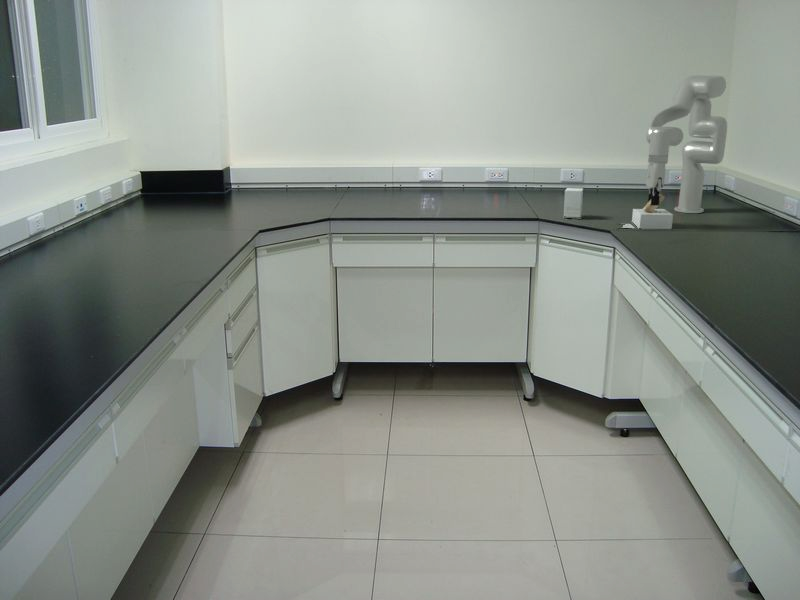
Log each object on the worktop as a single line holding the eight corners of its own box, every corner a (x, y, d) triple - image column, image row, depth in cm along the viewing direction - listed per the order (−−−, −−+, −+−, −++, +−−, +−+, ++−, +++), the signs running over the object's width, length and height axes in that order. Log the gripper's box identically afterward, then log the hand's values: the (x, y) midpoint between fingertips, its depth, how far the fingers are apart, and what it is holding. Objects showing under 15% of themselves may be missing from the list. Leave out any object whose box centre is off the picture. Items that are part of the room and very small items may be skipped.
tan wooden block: (642, 208, 306) (658, 189, 303) (648, 213, 306) (664, 193, 303) (644, 210, 302) (661, 190, 300) (651, 214, 303) (667, 195, 300)
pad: (610, 225, 308) (610, 223, 308) (630, 225, 307) (630, 223, 307) (615, 229, 300) (615, 227, 300) (635, 229, 300) (635, 227, 300)
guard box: (631, 222, 312) (633, 208, 310) (662, 222, 312) (664, 209, 310) (639, 228, 301) (640, 214, 299) (671, 229, 300) (673, 214, 298)
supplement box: (581, 216, 326) (584, 188, 322) (580, 219, 319) (582, 190, 315) (565, 215, 328) (566, 187, 324) (562, 218, 321) (564, 189, 317)
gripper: (643, 157, 306) (638, 201, 311) (654, 161, 290) (649, 207, 295) (661, 157, 305) (656, 201, 311) (673, 161, 290) (668, 208, 295)
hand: (653, 204), depth 303 cm, fingers closed on tan wooden block, 3 cm apart
